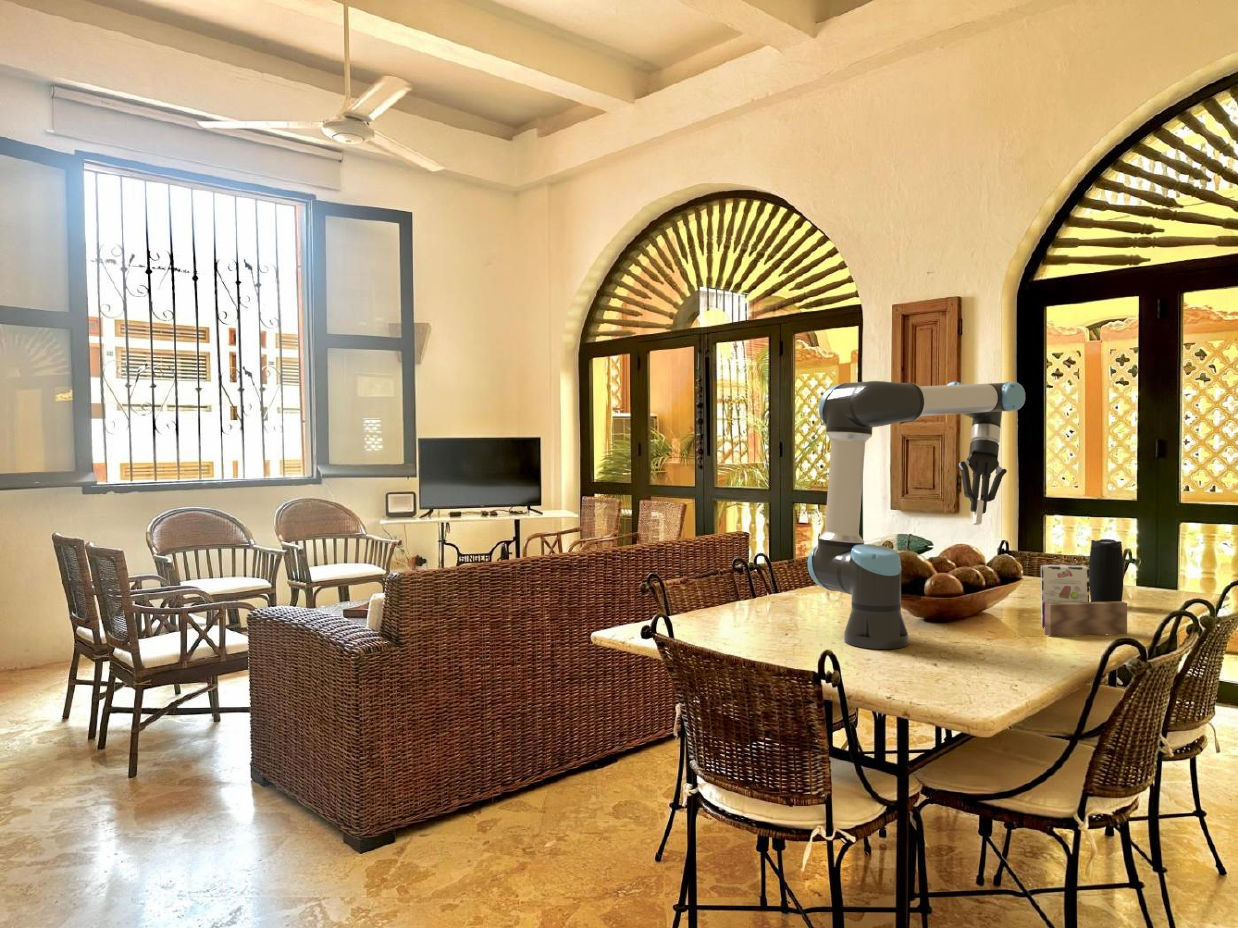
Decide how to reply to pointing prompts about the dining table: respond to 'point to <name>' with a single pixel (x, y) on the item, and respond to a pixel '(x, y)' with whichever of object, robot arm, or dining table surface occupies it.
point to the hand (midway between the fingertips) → (976, 523)
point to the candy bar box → (1063, 585)
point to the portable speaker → (1106, 571)
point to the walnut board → (1085, 618)
